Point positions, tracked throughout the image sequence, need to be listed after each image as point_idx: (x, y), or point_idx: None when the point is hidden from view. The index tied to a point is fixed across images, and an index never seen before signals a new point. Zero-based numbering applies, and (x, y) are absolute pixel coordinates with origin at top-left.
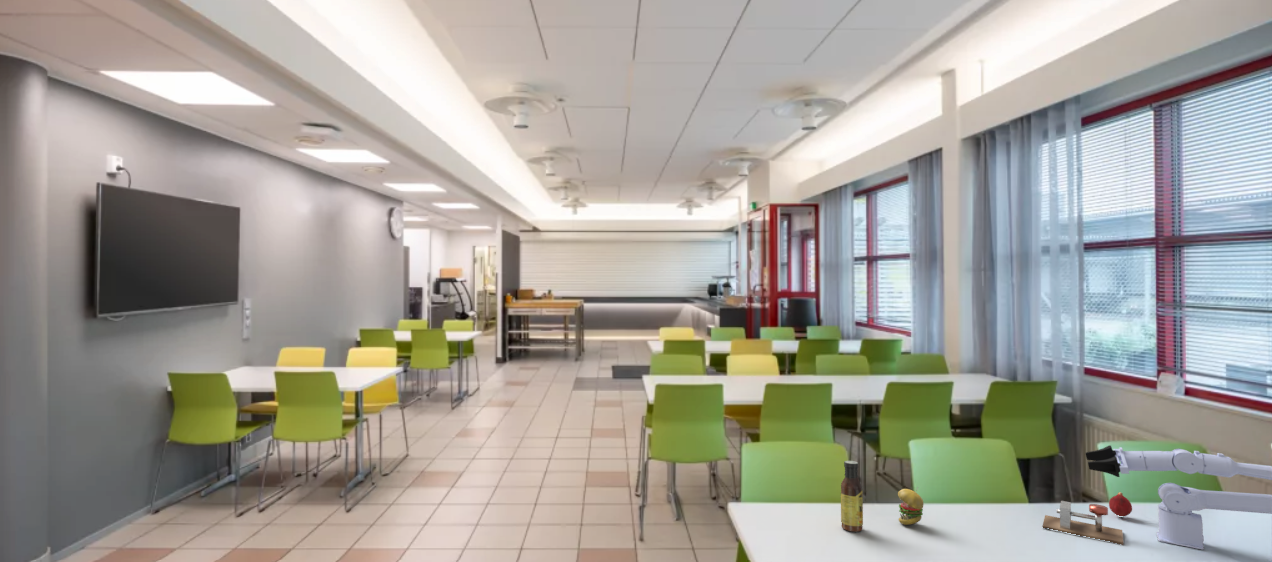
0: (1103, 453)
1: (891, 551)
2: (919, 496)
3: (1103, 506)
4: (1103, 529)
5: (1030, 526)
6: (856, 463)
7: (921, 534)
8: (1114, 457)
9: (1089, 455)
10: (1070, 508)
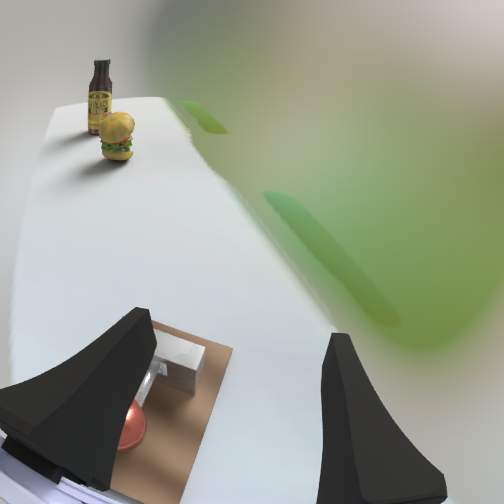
0: (340, 447)
1: (41, 148)
2: (110, 125)
3: (120, 437)
4: (153, 461)
5: (143, 298)
6: (96, 60)
7: (84, 165)
8: (18, 415)
9: (330, 363)
10: (173, 368)
